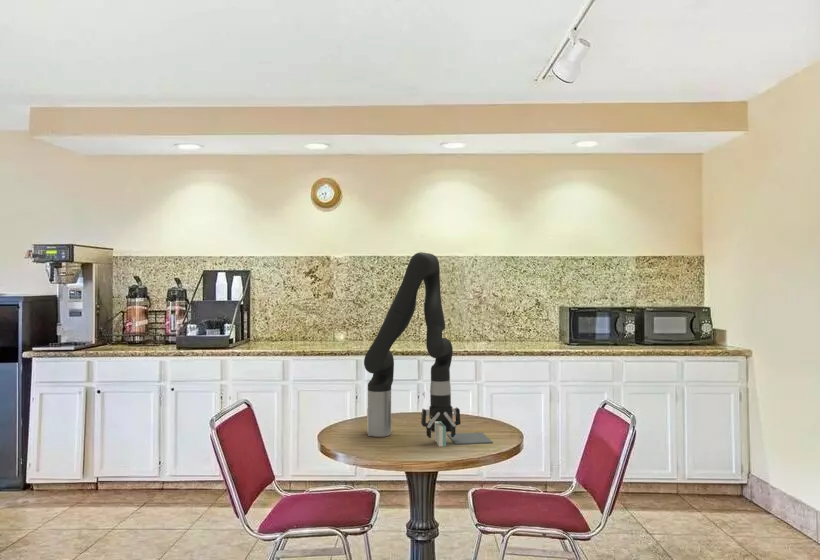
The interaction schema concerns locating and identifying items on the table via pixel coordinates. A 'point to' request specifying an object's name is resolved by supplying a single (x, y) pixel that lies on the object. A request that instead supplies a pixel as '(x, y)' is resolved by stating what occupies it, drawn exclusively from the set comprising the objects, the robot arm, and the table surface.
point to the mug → (446, 423)
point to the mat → (470, 438)
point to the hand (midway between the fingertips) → (441, 437)
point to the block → (440, 433)
